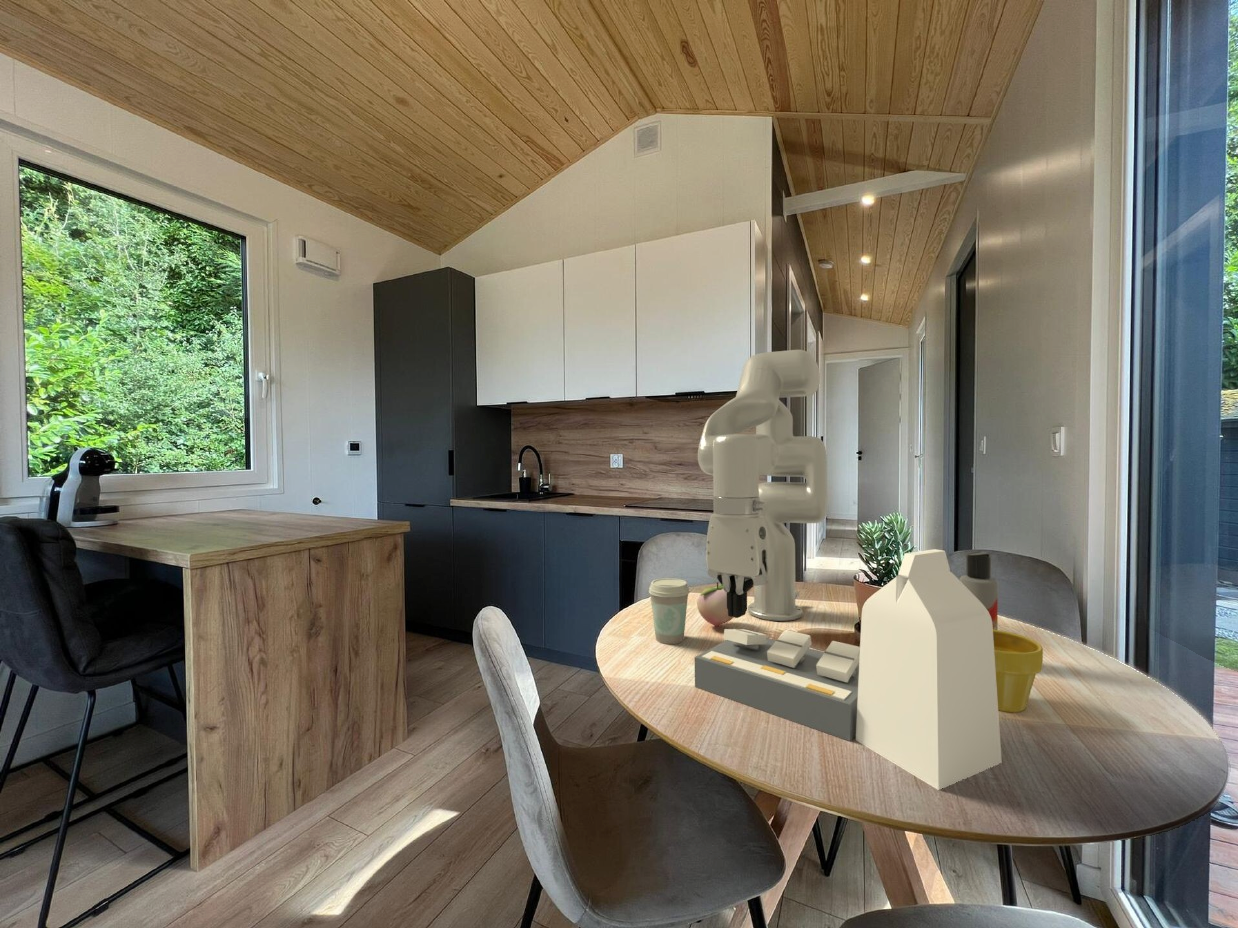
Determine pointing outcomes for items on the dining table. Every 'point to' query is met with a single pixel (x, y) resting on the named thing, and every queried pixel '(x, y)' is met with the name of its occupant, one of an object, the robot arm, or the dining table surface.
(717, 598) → the decorative fruit
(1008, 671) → the plant pot
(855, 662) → the rocker
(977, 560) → the lotion bottle
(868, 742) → the milk
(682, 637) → the coffee cup
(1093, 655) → the dining table surface
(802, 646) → the rocker
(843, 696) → the switch unit
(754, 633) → the rocker
